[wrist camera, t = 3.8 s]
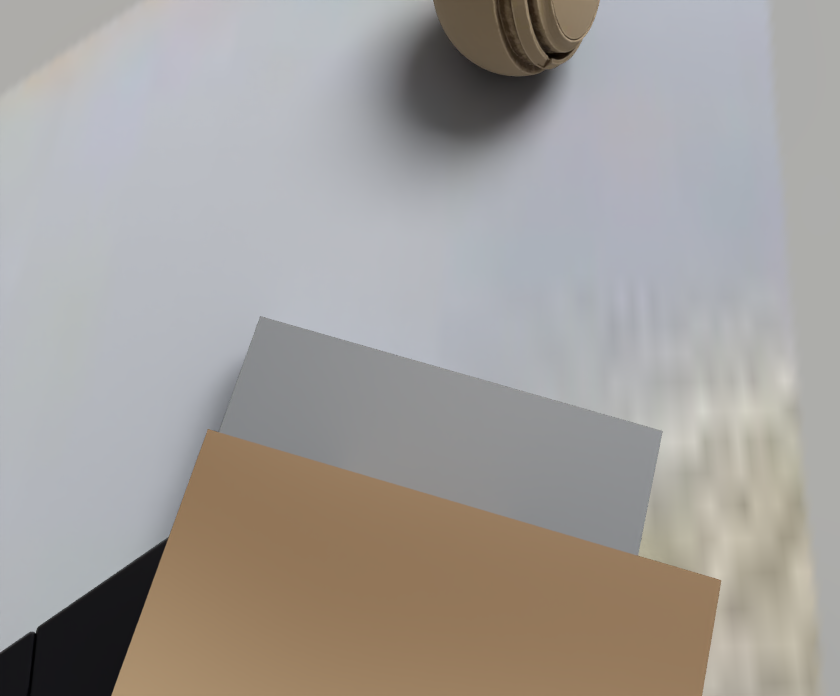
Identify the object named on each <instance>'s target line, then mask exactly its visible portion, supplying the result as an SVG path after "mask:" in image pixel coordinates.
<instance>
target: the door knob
mask: <svg viewBox="0 0 840 696" xmlns="http://www.w3.org/2000/svg"><path fill="white" fill-rule="evenodd" d="M599 1H600V0H433V2H434V6H435V10H436V13H437V16H438V18H439V21H440V24H441V26H442V28H443V30H444V31H445V33H446V35H447V36H448V38H449V39H450V41H451V42H452V44H453V45H454V46H455V47H456V49H457V50H458V51H459V52H460V53H461V54H462V55H464V56H465V57H466V58H467V59H468V60H470V61H471V62H473V63H474V64H476V65H477V66H479V67H481V68H483V69H485V70H488V71H490V72H493V73H497V74H500V75H506V76H529V75H535V74H538V73H541V72H542V71H544V70H546V69H553V68H555V67H557V66H559V65H561V64H562V63H564V62H566V61H567V60H569V59H570V58H571V57H572V56H573V54H574V53H575V52H576V50H577V49H578V47H579V45H580V43H581V42H582V39H583V38H584V37H585V35H586V34H587V33H588V31H589V29H590V28H591V26H592V23H593V21H594V19H595V16H596V13H597V9H598V6H599Z"/></svg>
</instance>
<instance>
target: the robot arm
mask: <svg viewBox="0 0 840 696" xmlns="http://www.w3.org/2000/svg"><path fill="white" fill-rule="evenodd" d="M168 538H169V537H168ZM168 538H166V539H165V540H164V541H162V542H161V543H159V544H158V545H156V546H155V547H153V548H152V549H150V550H149V551H148V552H146V553H145V554H143V555H142V556H140V557H139V558H137V559H136V560H134V561H133V562H132V563H130V564H129V565H127V566H126V567H124V568H123V569H121V570H120V571H119V572H117V573H116V574H114V575H113V576H111V577H110V578H108V579H107V580H105V581H104V582H103V583H101V584H100V585H98V586H97V587H95V588H94V589H92V590H91V591H89V592H88V593H87V594H85V595H84V596H82V597H81V598H79V599H78V600H76V601H75V602H73V603H72V604H71V605H69V606H68V607H66V608H65V609H63V610H62V611H60V612H59V613H57V614H56V615H55V616H53V617H52V618H50V619H49V620H47V621H46V622H44V623H43V624H41V625H40V626H39V627H38V628H37V630H36V633H35V632H29V633H28V634H26V635H25V636H23V637H22V638H21V639H19V640H18V641H16V642H15V643H13V644H12V645H10V646H9V647H8V648H6V649H5V650H3V651H2V652H0V696H111V695H112V692H113V690H114V687H115V684H116V681H117V679H118V676H119V673H120V670H121V668H122V665H123V662H124V659H125V657H126V654H127V651H128V648H129V646H130V643H131V640H132V637H133V635H134V632H135V629H136V626H137V624H138V621H139V618H140V615H141V613H142V610H143V607H144V604H145V601H146V599H147V596H148V593H149V590H150V588H151V585H152V582H153V579H154V577H155V574H156V571H157V568H158V566H159V563H160V560H161V557H162V555H163V552H164V549H165V546H166V544H167V541H168Z"/></svg>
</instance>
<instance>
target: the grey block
mask: <svg viewBox="0 0 840 696" xmlns="http://www.w3.org/2000/svg"><path fill="white" fill-rule="evenodd" d="M219 433H223V434H226V435H230V436H233V437H236V438H240V439H243V440H247V441H250V442H253V443H257V444H260V445H264V446H267V447H270V448H274V449H277V450H281V451H284V452H287V453H291V454H294V455H298V456H301V457H304V458H308V459H311V460H314V461H318V462H321V463H325V464H328V465H331V466H335V467H338V468H342V469H345V470H348V471H352V472H355V473H359V474H362V475H365V476H369V477H372V478H376V479H379V480H382V481H386V482H389V483H393V484H396V485H399V486H403V487H406V488H410V489H413V490H416V491H420V492H423V493H427V494H430V495H433V496H437V497H440V498H444V499H447V500H450V501H454V502H457V503H461V504H464V505H467V506H471V507H474V508H477V509H481V510H484V511H488V512H491V513H494V514H498V515H501V516H505V517H508V518H511V519H515V520H518V521H522V522H525V523H528V524H532V525H535V526H539V527H542V528H545V529H549V530H552V531H556V532H559V533H562V534H566V535H569V536H573V537H576V538H579V539H583V540H586V541H590V542H593V543H596V544H600V545H603V546H607V547H610V548H613V549H617V550H620V551H624V552H627V553H630V554H634V555H637V556H638V552H639V547H640V542H641V537H642V532H643V527H644V522H645V517H646V512H647V507H648V502H649V497H650V492H651V487H652V482H653V477H654V472H655V467H656V462H657V457H658V452H659V447H660V442H661V436H662V431H661V430H657V429H654V428H650V427H647V426H643V425H640V424H636V423H633V422H629V421H626V420H622V419H619V418H615V417H612V416H608V415H605V414H601V413H598V412H594V411H590V410H587V409H583V408H580V407H576V406H573V405H569V404H566V403H562V402H559V401H555V400H552V399H548V398H545V397H541V396H538V395H534V394H531V393H527V392H524V391H520V390H517V389H513V388H510V387H506V386H503V385H499V384H496V383H492V382H489V381H485V380H482V379H478V378H475V377H471V376H468V375H464V374H461V373H457V372H454V371H450V370H447V369H443V368H440V367H436V366H433V365H429V364H426V363H422V362H419V361H415V360H412V359H408V358H405V357H401V356H398V355H394V354H391V353H387V352H384V351H380V350H377V349H373V348H370V347H366V346H363V345H359V344H356V343H352V342H349V341H345V340H342V339H338V338H335V337H331V336H328V335H324V334H321V333H317V332H314V331H310V330H307V329H303V328H300V327H296V326H293V325H289V324H286V323H282V322H279V321H275V320H272V319H268V318H265V317H261V316H260V318H259V321H258V324H257V327H256V329H255V332H254V335H253V338H252V341H251V343H250V346H249V349H248V352H247V355H246V357H245V360H244V363H243V366H242V369H241V371H240V374H239V377H238V380H237V382H236V385H235V388H234V391H233V394H232V396H231V399H230V402H229V405H228V408H227V410H226V413H225V416H224V419H223V422H222V424H221V427H220V430H219Z"/></svg>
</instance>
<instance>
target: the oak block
mask: <svg viewBox="0 0 840 696" xmlns="http://www.w3.org/2000/svg"><path fill="white" fill-rule="evenodd" d="M720 585H721V580H719V579H715V578H712V577H708V576H705V575H702V574H698V573H695V572H691V571H688V570H685V569H681V568H678V567H674V566H671V565H668V564H664V563H661V562H657V561H654V560H651V559H647V558H644V557H640V556H637V555H634V554H630V553H627V552H624V551H620V550H617V549H613V548H610V547H607V546H603V545H600V544H596V543H593V542H590V541H586V540H583V539H579V538H576V537H573V536H569V535H566V534H562V533H559V532H556V531H552V530H549V529H545V528H542V527H539V526H535V525H532V524H528V523H525V522H522V521H518V520H515V519H511V518H508V517H505V516H501V515H498V514H494V513H491V512H488V511H484V510H481V509H477V508H474V507H471V506H467V505H464V504H461V503H457V502H454V501H450V500H447V499H444V498H440V497H437V496H433V495H430V494H427V493H423V492H420V491H416V490H413V489H410V488H406V487H403V486H399V485H396V484H393V483H389V482H386V481H382V480H379V479H376V478H372V477H369V476H365V475H362V474H359V473H355V472H352V471H348V470H345V469H342V468H338V467H335V466H331V465H328V464H325V463H321V462H318V461H314V460H311V459H308V458H304V457H301V456H298V455H294V454H291V453H287V452H284V451H281V450H277V449H274V448H270V447H267V446H264V445H260V444H257V443H253V442H250V441H247V440H243V439H240V438H236V437H233V436H230V435H226V434H223V433H219V432H216V431H213V430H209V429H208V431H207V433H206V436H205V439H204V442H203V444H202V447H201V450H200V453H199V455H198V458H197V461H196V464H195V466H194V469H193V472H192V475H191V477H190V480H189V483H188V486H187V488H186V491H185V494H184V497H183V499H182V502H181V505H180V508H179V511H178V513H177V516H176V519H175V522H174V524H173V527H172V530H171V533H170V535H169V538H168V541H167V544H166V546H165V549H164V552H163V555H162V557H161V560H160V563H159V566H158V568H157V571H156V574H155V577H154V579H153V582H152V585H151V588H150V590H149V593H148V596H147V599H146V601H145V604H144V607H143V610H142V613H141V615H140V618H139V621H138V624H137V626H136V629H135V632H134V635H133V637H132V640H131V643H130V646H129V648H128V651H127V654H126V657H125V659H124V662H123V665H122V668H121V670H120V673H119V676H118V679H117V681H116V684H115V687H114V690H113V692H112V695H111V696H702V692H703V686H704V680H705V674H706V668H707V662H708V656H709V650H710V645H711V639H712V633H713V627H714V621H715V615H716V609H717V603H718V597H719V591H720Z"/></svg>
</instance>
